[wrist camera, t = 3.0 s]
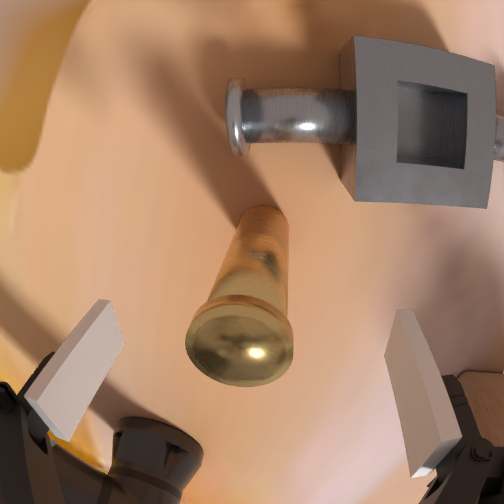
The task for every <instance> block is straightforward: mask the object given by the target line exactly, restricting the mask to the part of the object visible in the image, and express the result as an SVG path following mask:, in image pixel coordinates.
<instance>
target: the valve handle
mask: <svg viewBox="0 0 504 504" xmlns="http://www.w3.org/2000/svg"><path fill="white" fill-rule="evenodd" d="M288 256H289V226H288V222H287V220H286V218H285V216H284V215H283V214H282V213H281V212H280V211H279V210H278V209H276V208H274V207H271V206H267V205H259V206H255V207H252V208H250V209H249V210H247V211H246V212H245V213H244V215H243V216H242V218H241V220H240V222H239V225H238V227H237V229H236V232H235V234H234V237H233V239H232V241H231V244H230V246H229V249H228V251H227V254H226V256H225V258H224V261H223V263H222V266H221V268H220V271H219V273H218V276H217V278H216V280H215V283H214V285H213V288H212V290H211V293H210V295H209V298H208V300H207V302H206V303H205V304H204V305H202V306H201V307H200V308H199V309H198V310H197V312H196V313H195V315H194V317H193V320H192V322H191V324H190V327H189V329H188V331H187V334H186V338H185V346H186V350H187V354H188V356H189V358H190V359H191V361H192V362H193V364H194V365H195V366H196V367H197V368H198V369H199V370H200V371H201V372H202V373H204V374H205V375H207V376H208V377H210V378H212V379H214V380H216V381H218V382H221V383H224V384H227V385H232V386H238V387H255V386H261V385H265V384H268V383H270V382H273V381H275V380H276V379H278V378H279V377H281V376H282V375H283V374H284V373H285V372H286V371H287V370H288V368H289V367H290V365H291V362H292V359H293V331H292V327H291V325H290V323H289V321H288V319H287V308H288Z"/></svg>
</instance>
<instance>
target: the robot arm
mask: <svg viewBox="0 0 504 504" xmlns="http://www.w3.org/2000/svg"><path fill="white" fill-rule="evenodd" d="M124 345H125V340H124V338H123V335H122V332H121V329H120V327H119V324H118V321H117V318H116V315H115V312H114V309H113V306H112V303H111V301H109V300H100V299H98V300H97V302H96V303H95V304H94V305H93V306H92V308H91V309H90V310H89V311H88V312H87V314H86V315H85V316H84V317H83V319H82V320H81V321H80V322H79V323H78V325H77V326H76V327H75V328H74V330H73V331H72V332H71V333H70V335H69V336H68V337H67V338H66V340H65V341H64V342H63V344H62V345H61V346H60V347H59V349H58V350H57V351H56V352H52V353H50V354H49V355H48V356H46V357H45V358H44V359H43V361H42V362H41V363H40V364H39V367H37V368H36V370H35V371H34V374H32V375H31V376H30V378H29V379H28V381H27V382H26V383H25V385H24V386H23V387H22V389H21V390H20V392H19V393H18V394H17V395H16V394H15V392H14V391H13V389H12V388H11V387H10V385H9V384H8V383H7V382H0V504H179V503H180V499H181V495H182V492H183V490H184V489H185V487H186V486H187V485H188V483H189V482H190V480H191V479H192V478H193V476H194V475H195V473H196V472H197V471H198V469H199V468H200V466H201V463H202V459H203V455H204V453H203V450H202V448H201V446H200V445H199V444H198V443H197V442H196V441H195V440H194V439H192V438H191V437H189V436H188V435H186V434H185V433H183V432H181V431H179V430H177V429H175V428H173V427H170V426H168V425H165V424H163V423H160V422H157V421H153V420H149V419H144V418H137V417H129V418H124V419H122V420H120V421H119V422H118V424H117V426H116V428H115V431H114V434H113V449H112V465H111V468H110V470H109V472H108V475H107V474H105V473H103V472H101V471H100V470H98V469H96V468H94V467H93V466H91V465H89V464H88V463H86V462H85V461H83V460H81V459H80V458H78V457H77V456H75V455H74V454H72V453H71V452H69V451H68V450H66V449H65V448H63V447H62V446H60V445H59V444H57V441H55V440H52V439H50V438H49V436H48V434H47V432H48V430H49V429H50V430H51V431H52V433H53V434H54V435H55V436H56V437H58V438H60V439H63V440H65V441H68V442H69V441H70V439H71V437H72V435H73V433H74V431H75V430H76V428H77V426H78V424H79V422H80V420H81V419H82V417H83V415H84V413H85V411H86V410H87V408H88V406H89V404H90V403H91V401H92V399H93V397H94V396H95V394H96V392H97V390H98V389H99V387H100V385H101V383H102V382H103V380H104V378H105V377H106V375H107V373H108V371H109V370H110V368H111V366H112V365H113V363H114V361H115V360H116V358H117V356H118V355H119V353H120V351H121V350H122V348H123V346H124ZM384 357H385V360H386V364H387V368H388V372H389V376H390V380H391V384H392V388H393V392H394V396H395V400H396V405H397V409H398V413H399V418H400V423H401V428H402V432H403V437H404V443H405V448H406V453H407V459H408V465H409V471H410V477H411V478H414V477H419V476H424V475H429V474H430V473H431V472H432V471H433V470H434V469H435V468H436V472H437V476H436V477H435V478H434V479H433V480H432V481H431V482H430V483H429V484H428V485H427V487H429V489H428V490H427V492H426V493H425V495H424V497H423V498H422V500H421V501H420V503H419V504H504V447H497V446H493V445H492V443H491V442H490V441H489V440H487V439H486V438H482V437H481V435H480V432H479V429H478V427H477V424H476V421H475V418H474V415H473V413H472V410H471V407H470V405H469V404H468V400H467V397H466V396H465V392H464V390H463V387H462V385H461V383H460V382H459V381H458V380H457V379H456V378H455V376H454V375H453V374H452V375H445V376H441V375H440V372H439V370H438V367H437V365H436V362H435V360H434V357H433V355H432V352H431V350H430V348H429V345H428V343H427V341H426V338H425V336H424V334H423V332H422V329H421V327H420V325H419V323H418V321H417V318H416V316H415V314H414V312H413V310H397V311H396V315H395V319H394V323H393V327H392V330H391V334H390V338H389V341H388V345H387V348H386V351H385V355H384Z"/></svg>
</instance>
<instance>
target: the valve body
mask: <svg viewBox="0 0 504 504" xmlns="http://www.w3.org/2000/svg"><path fill="white" fill-rule="evenodd" d="M339 61H340V84H341V89H320V88H269V89H248V88H247V84H246V80H245V79H244V78H232V79H229V81H228V84H227V90H226V126H227V134H228V141H229V145H230V149H231V152H232V154H233V155H234V156H247V155H248V154H249V150H250V143H341V182H342V184H343V185H344V186H345V188H346V189H347V191H348V192H349V194H350V195H351V196H352V198H353V199H354V201H362V202H390V203H412V204H430V205H445V206H460V207H473V208H484V209H487V205H488V199H489V192H490V185H491V177H492V168H493V160H497V161H502V162H504V116H502V115H498V114H496V83H495V66H494V65H491V64H488V63H485V62H482V61H479V60H475V59H472V58H469V57H465V56H462V55H458V54H455V53H451V52H447V51H443V50H439V49H434V48H430V47H425V46H421V45H415V44H410V43H405V42H399V41H393V40H386V39H379V38H371V37H362V36H353V37H352V38H351V39H350V40H349V41H348V43H347V44H346V45H345V46H344V47H343V48H342V49H341V50H340V51H339Z"/></svg>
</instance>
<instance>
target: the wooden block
mask: <svg viewBox="0 0 504 504" xmlns="http://www.w3.org/2000/svg"><path fill="white" fill-rule="evenodd" d="M457 380H458V381H459V382H460V383H461V385H462V387H463V390H464V392H465V396H466V397H467V400H468V404H469V405H470V407H471V410H472V413H473V415H474V418H475V421H476V424H477V427H478V429H479V432H480V435H481V437H482V438H486V439H487V440H489V441H490V442H491V443H492V445H493V446H497V447H504V374H503V373H488V372H473V371H466V372H464V373H462V374H461V375H460V376H459V377H458V379H457Z"/></svg>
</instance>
